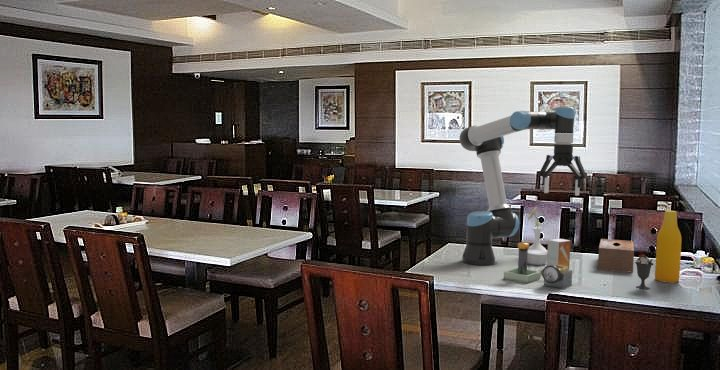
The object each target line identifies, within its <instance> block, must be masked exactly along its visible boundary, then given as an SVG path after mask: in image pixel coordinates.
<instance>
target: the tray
mask: <svg viewBox="0 0 720 370" xmlns="http://www.w3.org/2000/svg"><path fill="white" fill-rule="evenodd" d="M541 278H542V271H539V270H532V269H528V268H527V275H522V274H518V267H514V268H512V269H507V270H505V271H503V279H504V280H507V279H508V281H514V282H519V283H524V284H530V283H533V282H535V281H539V280H541Z"/></svg>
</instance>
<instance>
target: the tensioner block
mask: <svg viewBox="0 0 720 370" xmlns="http://www.w3.org/2000/svg"><path fill="white" fill-rule="evenodd" d="M541 277H542V279H543V286H545V287H546V286H547V287H551V288H557V289H562V290H564V289H566V288H569V287H571V286H572V283H573V282H572V281H573V269H572V270H571V269H570V266H569V267H567V266H561V265H549V266H547V265H546V266H545V267H544V268H543V269H542V271H541Z"/></svg>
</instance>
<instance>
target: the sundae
mask: <svg viewBox="0 0 720 370" xmlns="http://www.w3.org/2000/svg"><path fill="white" fill-rule="evenodd" d="M637 251H638V252H639V255H638V258H637V259H636V261H635V262H634V263H635V264H636V272H637V276H638V278H640V280H641V281H640V284H639V285H637V286H635V288H636V289H638V288H639V290H644V289H646V291H647V290H650V287H648V286H647V285H646V283H645V282H646V281H645V280H646V279H648V278H649V277H650V273H651V268H652V266H654V265H655V264H654V263H653V259H654V258H651V259H650V258H649V257H648V256H646V255H645V254H644V253H643V252H642V251H641V250H640V249H639V250H637Z"/></svg>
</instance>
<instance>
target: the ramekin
mask: <svg viewBox="0 0 720 370" xmlns="http://www.w3.org/2000/svg"><path fill="white" fill-rule="evenodd" d="M547 251H548V250H547ZM547 251H542V250H528V257H527V264H529V265H537V266H538V265H539V266H542V265H547Z"/></svg>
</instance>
